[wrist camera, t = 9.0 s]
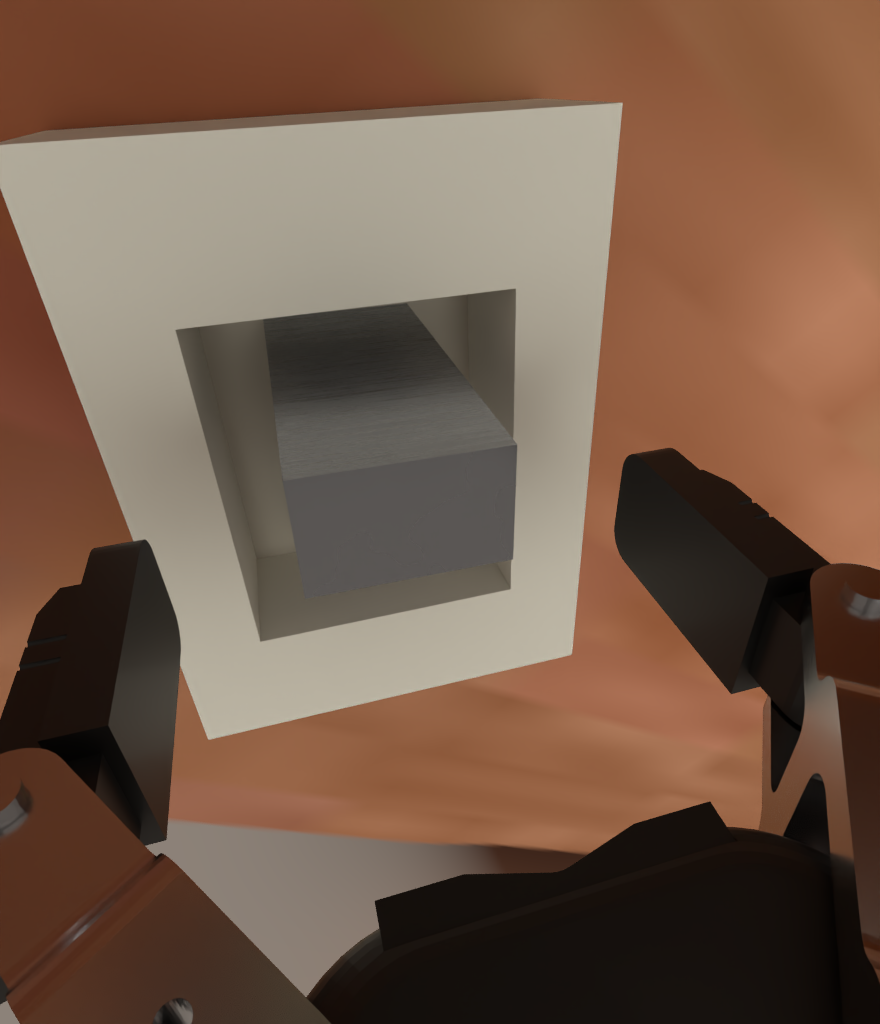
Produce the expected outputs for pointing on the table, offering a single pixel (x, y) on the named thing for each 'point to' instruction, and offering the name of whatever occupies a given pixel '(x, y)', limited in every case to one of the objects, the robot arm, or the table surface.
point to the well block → (313, 289)
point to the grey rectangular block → (385, 451)
